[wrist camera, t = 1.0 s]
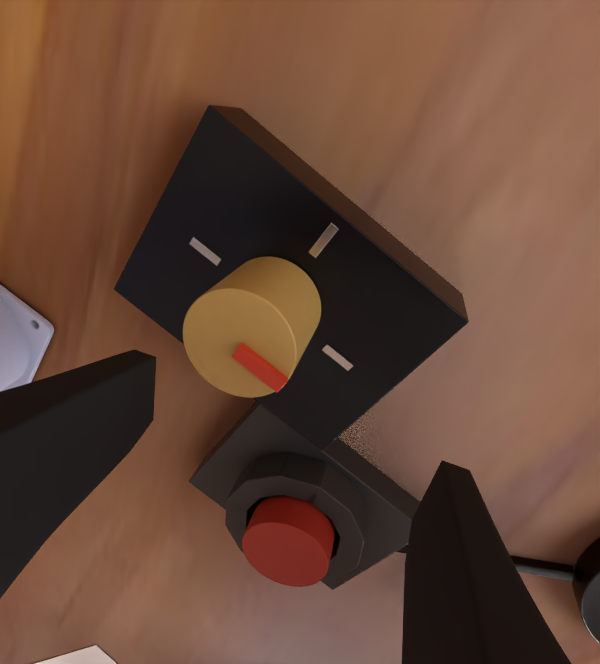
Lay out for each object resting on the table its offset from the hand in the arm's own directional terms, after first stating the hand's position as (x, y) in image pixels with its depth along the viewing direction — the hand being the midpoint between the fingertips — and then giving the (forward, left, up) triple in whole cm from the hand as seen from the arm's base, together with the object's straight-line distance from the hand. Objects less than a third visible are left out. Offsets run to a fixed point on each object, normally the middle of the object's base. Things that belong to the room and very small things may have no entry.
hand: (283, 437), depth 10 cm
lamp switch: (+6, -11, -7) cm, 14 cm away
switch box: (+6, -11, -11) cm, 16 cm away
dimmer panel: (-2, -1, -11) cm, 11 cm away
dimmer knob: (-2, -1, -7) cm, 8 cm away
